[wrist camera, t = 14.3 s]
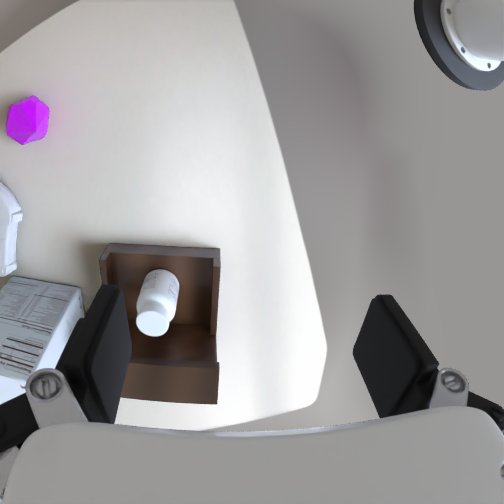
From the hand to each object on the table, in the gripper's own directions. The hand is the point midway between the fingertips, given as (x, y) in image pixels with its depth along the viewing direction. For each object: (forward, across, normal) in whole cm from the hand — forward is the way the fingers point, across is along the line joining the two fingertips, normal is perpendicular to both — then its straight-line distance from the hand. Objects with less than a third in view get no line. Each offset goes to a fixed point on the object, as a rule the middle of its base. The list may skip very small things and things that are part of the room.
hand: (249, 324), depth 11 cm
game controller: (+26, +32, +8) cm, 42 cm away
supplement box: (+26, +27, +25) cm, 45 cm away
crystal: (+26, +24, -6) cm, 36 cm away
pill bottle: (+24, +8, +14) cm, 28 cm away
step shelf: (+26, +8, +18) cm, 32 cm away
